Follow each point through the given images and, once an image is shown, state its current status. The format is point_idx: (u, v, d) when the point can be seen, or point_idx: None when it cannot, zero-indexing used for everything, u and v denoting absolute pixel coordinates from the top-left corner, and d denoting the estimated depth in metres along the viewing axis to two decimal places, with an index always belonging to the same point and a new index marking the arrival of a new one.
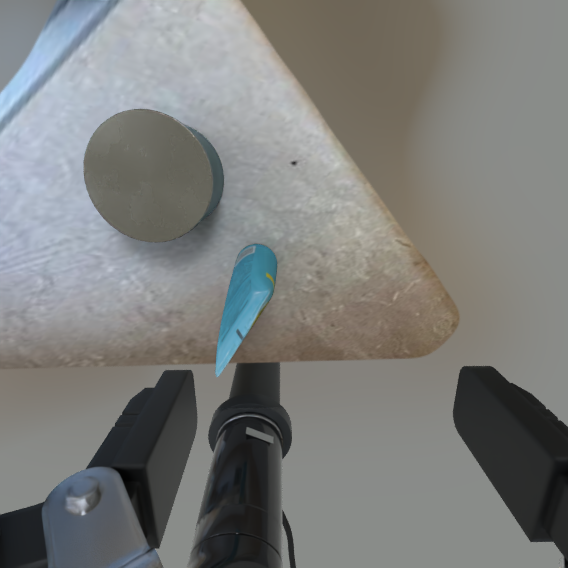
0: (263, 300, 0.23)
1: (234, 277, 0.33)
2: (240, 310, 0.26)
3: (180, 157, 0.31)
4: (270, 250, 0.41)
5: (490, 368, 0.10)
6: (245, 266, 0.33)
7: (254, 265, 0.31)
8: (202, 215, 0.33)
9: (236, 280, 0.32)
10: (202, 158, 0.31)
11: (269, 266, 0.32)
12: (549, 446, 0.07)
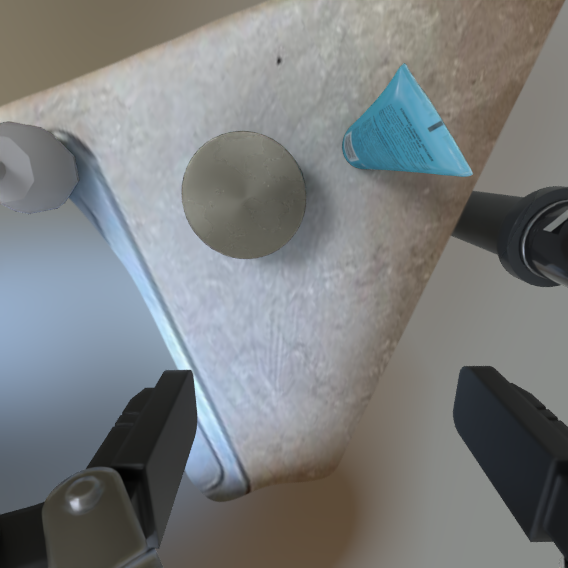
0: (409, 75, 0.19)
1: (368, 151, 0.30)
2: (408, 124, 0.22)
3: (234, 158, 0.31)
4: None
5: (490, 368, 0.10)
6: (362, 133, 0.29)
7: (365, 118, 0.28)
8: (294, 161, 0.31)
9: (372, 145, 0.28)
10: (242, 136, 0.31)
11: None
12: (549, 446, 0.07)
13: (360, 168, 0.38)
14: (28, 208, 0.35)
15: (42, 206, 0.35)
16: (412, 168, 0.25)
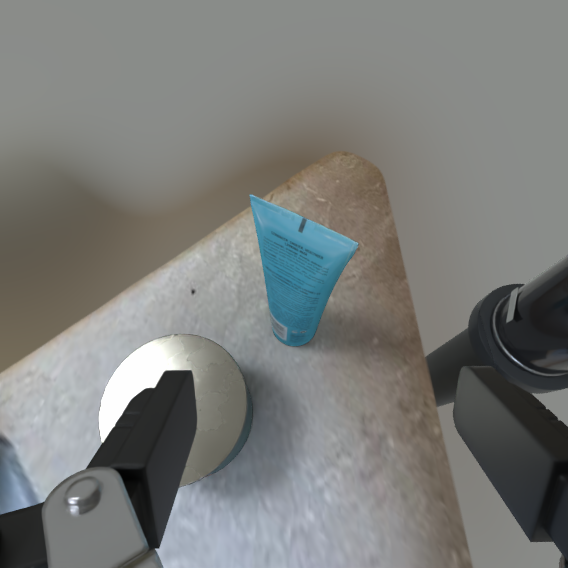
0: (259, 200, 0.22)
1: (284, 307, 0.30)
2: (285, 241, 0.23)
3: (154, 365, 0.29)
4: None
5: (490, 368, 0.10)
6: (270, 294, 0.30)
7: None
8: (217, 345, 0.29)
9: (281, 295, 0.28)
10: (159, 342, 0.30)
11: None
12: (549, 446, 0.07)
13: (299, 344, 0.37)
14: None
15: None
16: (318, 285, 0.25)
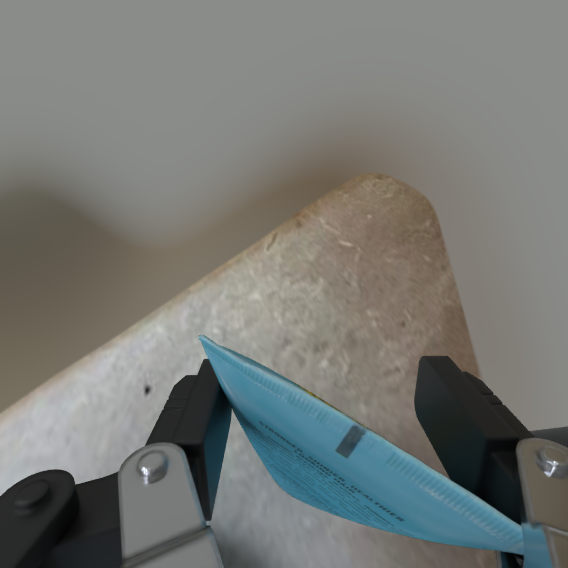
0: (224, 354, 0.08)
1: (289, 491, 0.15)
2: (295, 449, 0.09)
3: None
4: None
5: (445, 357, 0.10)
6: (263, 462, 0.15)
7: None
8: None
9: (284, 483, 0.14)
10: None
11: None
12: (484, 426, 0.08)
13: None
14: None
15: None
16: None
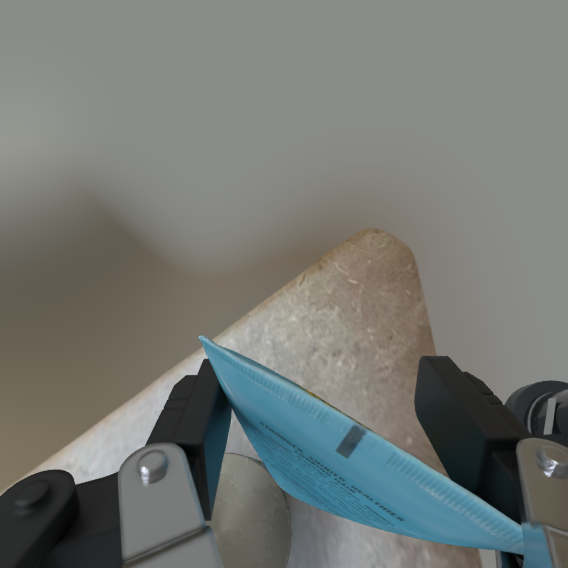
0: (224, 355, 0.08)
1: (289, 491, 0.15)
2: (295, 449, 0.09)
3: None
4: None
5: (445, 358, 0.10)
6: (263, 462, 0.15)
7: None
8: (261, 467, 0.30)
9: (284, 483, 0.14)
10: None
11: None
12: (484, 426, 0.08)
13: None
14: None
15: None
16: None
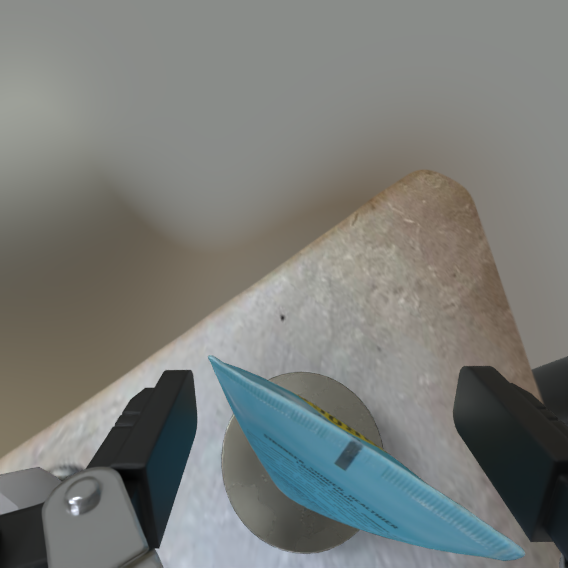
0: (231, 374, 0.08)
1: (290, 496, 0.16)
2: (297, 460, 0.09)
3: None
4: None
5: (490, 368, 0.10)
6: None
7: None
8: (343, 386, 0.27)
9: (285, 488, 0.14)
10: (278, 381, 0.27)
11: None
12: (549, 446, 0.07)
13: None
14: None
15: None
16: (370, 532, 0.11)
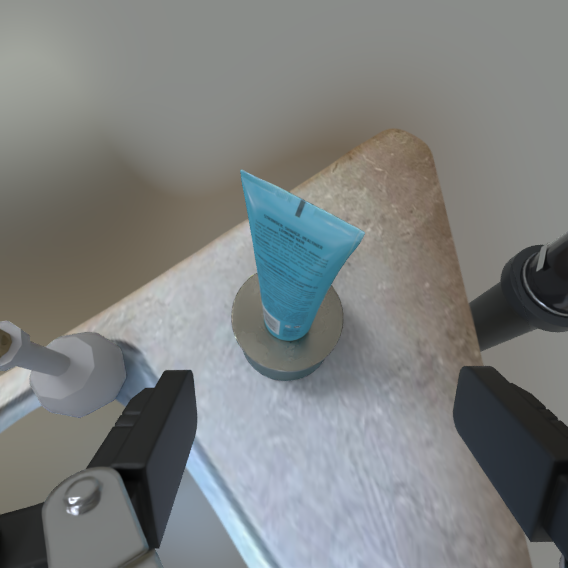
0: (250, 176, 0.19)
1: (277, 299, 0.27)
2: (279, 227, 0.20)
3: None
4: None
5: (490, 368, 0.10)
6: (262, 285, 0.27)
7: None
8: None
9: (274, 286, 0.25)
10: None
11: None
12: (549, 446, 0.07)
13: (293, 339, 0.34)
14: (83, 403, 0.35)
15: (97, 397, 0.35)
16: (316, 278, 0.22)
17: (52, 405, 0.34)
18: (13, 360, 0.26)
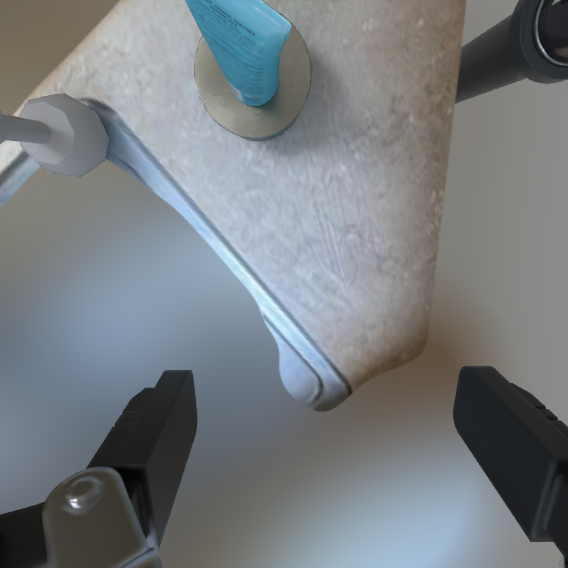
0: None
1: (230, 73, 0.26)
2: (209, 3, 0.18)
3: None
4: None
5: (490, 368, 0.10)
6: (213, 54, 0.26)
7: None
8: None
9: (223, 60, 0.25)
10: None
11: None
12: (549, 446, 0.07)
13: (258, 104, 0.34)
14: (77, 166, 0.39)
15: (88, 161, 0.40)
16: (257, 61, 0.22)
17: (51, 168, 0.39)
18: None
